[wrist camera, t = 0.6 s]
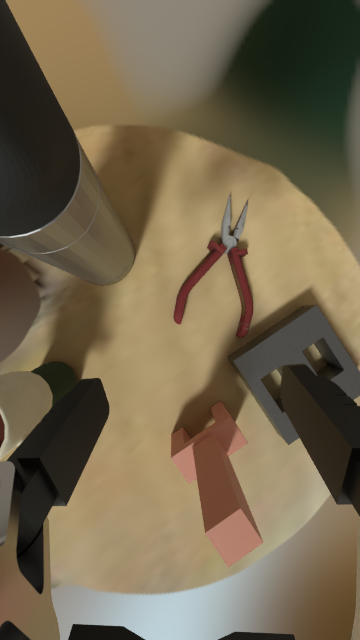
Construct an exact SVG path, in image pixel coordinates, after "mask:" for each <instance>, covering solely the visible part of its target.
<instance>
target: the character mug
mask: <svg viewBox="0 0 360 640" xmlns="http://www.w3.org/2000/svg"><path fill="white" fill-rule="evenodd" d="M75 385H76V376H75V374H74V372H73V370H72V368H70V367H69V366H67V365H66V364H64V363H59V362H51V363H47V364H44V365H42V366H40V367H38V368H36V369H34V370H32V371H31V372H29V371H24V372H10V373H7V374H4V375H1V376H0V459H1V458H3V457H4V456H5V455H6V454H7V453H9V452H10V451H11V450H13V449H14V448H15V447H16V446H19V445H20V444H21V443H22V442H23V441H24V440H25V438H26V437H27V436H28V435H29V434H30V432H31V431H32V430H33V429H34V428H35V427H36V425H37V424H38V423H39V422H41V419H42V418H43V417H44V416H45V415H46V413H49V410H50V409H51V408H52V406H53V405H54V404H55V403H56V402H57V401H58V400H59V399H60V398H61V397H63V396H64V395H65V394H67V393H68V392H71V390H72V389H73V388H74V387H75Z"/></svg>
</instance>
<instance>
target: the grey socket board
mask: <svg viewBox="0 0 360 640" xmlns="http://www.w3.org/2000/svg"><path fill="white" fill-rule="evenodd" d="M313 343H314V345H315V346H316V348H317V349H318V351H319V353H320V354H321V356H322V357H323V359H324V360H325V362H326V363H327V366H326V367H324V368H323V369H321V370H320V371H319V372H317V373H316V372H315V371H314V369H313V368H312V366H311V365H310V363H309V361H308V360H307V358H306V357H305V355H304V354H303V352H302V351H303V350H305V349H306V348H307V347H309V346H310V345H312V344H313ZM228 359H229V360H230V362H231V363H232V365H233V366H234V368H235V369H236V371H237V372H238V374H239V375H240V377H241V378H242V380H243V381H244V383H245V384H246V386H247V387H248V389H249V390H250V392H251V394H252V395H253V397H254V398H255V400H256V401H257V403H258V404H259V406H260V407H261V409H262V410H263V412H264V413H265V415H266V416H267V418H268V419H269V421H270V422H271V424H272V425H273V427H274V428H275V430H276V432H277V433H278V434H279V435H280V436H281V437H282V438H283V439H284V440H285V442H286V443H287V444H288V445H289V444H291V443H292V442H294V441H295V440H297V439H298V438H299V436H298V434H297V432H296V430H295V428H294V427H293V425H292V423H291V421H290V419H289V418H288V416H287V414H286V412H285V410H284V408H283V406H282V402H281V398H279V399H278V400H276V401H274V400H273V398H272V397H271V395H270V393H269V392H268V390H267V389H266V387H265V386H264V384H263V383H262V381H261V379H262V378H264V377H265V376H266V375H268V374H269V373H271V372H272V371H274V370H275V369H277V370H278V372H279V373H280V375H281V376H282V368H283V366H284V365H291V364H306V365H307V366H308V367H309V368H310V369H311V370H312V371H313V372H314V373H315V375H316V376H319V375H322V376H324V377H325V378H327V379H329V380H331V381H332V382H334V383H336V384H337V385H338V386H339V387H340V388H341V389H342V390H343V391H344V392H345V393H346V394H347V396H348V397H350V398H351V399H352V400H354V399H355V398H357V397H358V396H360V371H359V370H358V368H357V367H356V365H355V364H354V362H353V361H352V359H351V357H350V356H349V354H348V353H347V351H346V350H345V348H344V346H343V345H342V343H341V342H340V340H339V339H338V337H337V336H336V334H335V332H334V331H333V329H332V328H331V326H330V325H329V323H328V322H327V320H326V318H325V317H324V315H323V314H322V312H321V311H320V309H319V307H318V306H317V305H311V306H302V307H301V308H299V309H298V310H296V311H295V312H293V313H292V314H290V315H289V316H288V317H286V318H285V319H283V320H282V321H280V322H279V323H277V324H276V325H274V326H273V327H271V328H270V329H268V330H267V331H265V332H264V333H262V334H261V335H259V336H258V337H256V338H255V339H253V340H252V341H250V342H249V343H247V344H246V345H245V346H243V347H242V348H240V349H239V350H237V351H236V352H234V353H233V354H231V355H230V356H228Z"/></svg>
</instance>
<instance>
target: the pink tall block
mask: <svg viewBox="0 0 360 640" xmlns="http://www.w3.org/2000/svg"><path fill="white" fill-rule="evenodd" d="M210 409H211V412H212V414H213V417H214V419H215V421H216V422H215V423H213V424H212V425H211V426H209V427H208V428H206V429H205V430H203V431H202V432H200V433H199V434H197V435H196V436H194V437H193V438H192V439H190V437H189V436H188V434H187V433H186V431H185V430H184V428H183V427H182V428H180V429H179V430H177V431H176V432H174V433H173V434H171V458H172V460H173V461H174V463H175V464H176V466H177V467H178V468H179V470H180V471H181V473H182V474H183V476H184V477H185V479H186V480H187V482H188V483H191V482H192V481H193V480H195V479H196V478H197V482H198V488H199V495H200V501H201V508H202V515H203V521H204V528H205V533H206V535H207V536H208V538H209V539H210V541H211V542H212V544H213V545H214V547H215V548H216V549H217V551H218V552H219V554H220V555H221V557H222V558H223V560H224V561H225V563H226V564H227V566H228V567H229V566H231V565H232V564H234V563H235V562H236V561H238V560H239V559H241V558H242V557H244V556H245V555H246V554H248V553H249V552H251V551H252V550H253V549H255V548H256V547H258V546H259V545H260V544H262V543H263V541H262V538H261V536H260V533H259V531H258V528H257V526H256V523H255V521H254V518H253V516H252V513H251V511H250V509H249V506H248V504H247V501H246V499H245V496H244V494H243V491H242V489H241V486H240V484H239V481H238V479H237V477H236V474H235V472H234V469H233V467H232V464H231V462H230V459H229V457H228V456H230V455H231V454H232V453H234V452H235V451H237V450H238V449H240V448H241V447H243V446H244V445H245V444H247V441H246V439H245V438H244V436H243V434H242V433H241V431H240V429H239V428H238V426H237V424H236V423H235V421H234V420H233V418H232V417H231V415H230V414H229V412H228V411H227V409H226V408H225V406H224V405H223V403H222V402H221V401H220V402H218V403H217V404H215V405H214V406H213V407H211V408H210Z"/></svg>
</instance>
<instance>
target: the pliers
mask: <svg viewBox="0 0 360 640" xmlns="http://www.w3.org/2000/svg"><path fill="white" fill-rule="evenodd" d="M247 206H248V201H247V203H246V205H245V207H244V209H243V212H242V214H241V216H240V218H239V221H238V223H237V225H236V227H235V229H234V232H233V233H234V234H233V236H230V235H229V231H230V220H231V207H230V196H229V199H228V202H227V206H226V210H225V214H224V217H223V221H222V226H221V240H222V243H221V244H220V245H218V244H217V243H216V242H215V241H211V242H210V243H209V245H208V247H207V248H208V249H209V250H210V251H211V252H212V253H211V254H210V255H209V256H208V257H207V258H206V260H205V261H204V262H203V263H202V264H201V265H200V266H199V267H198V268H197V270H196V271H195V272H194V273H193V274H192V275H191V276H190V277H189V278H188V280H187V281H186V282H185V283H184V285H183V286H182V287H181V289H180V291H179V293H178V295H177V300H176V305H175V311H174V321H175V322H176V323H177V324H181V321H182V316H183V311H184V306H185V301H186V298H187V296H188V294H189V292H190V291H191V289H192V288H193V287H194V286H195V285H196V283H197V282H198V281H199V280H200V279H201V278H202V277H203V276H204V275H205V273H206V272H207V271H208V270H209V269H210V268H211V267H212V266H213V265H214V264H215V262H216V261H217V260H218V259H219V258H220V257H221V256H222V255H223V253H227V255H228V258H229V262H230V265H231V269H232V272H233V276H234V279H235V282H236V286H237V289H238V293H239V296H240V300H241V306H242V312H241V318H240V322H239V326H238V330H237V334H236V336H237V337H244V336H246V334H247V333H248V330H249V326H250V322H251V319H252V315H253V301H252V296H251V292H250V289H249V285H248V282H247V279H246V275H245V272H244V268H243V265H242V261H241V257H244V256H245V255H246V254H248V252H247V249H242V250H239V248H238V247H236V244H237V241H238V240H239V238H240V235H241V233H242V231H243V228H244V223H245V217H246V211H247Z"/></svg>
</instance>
